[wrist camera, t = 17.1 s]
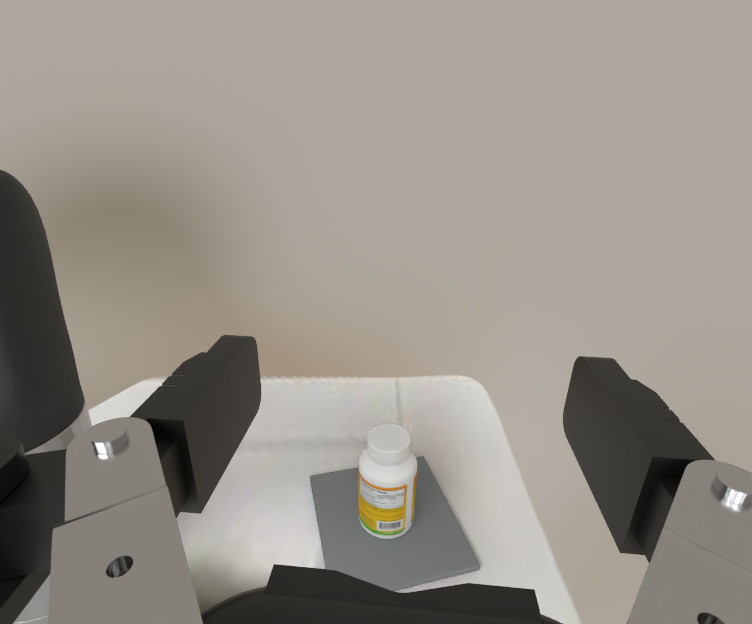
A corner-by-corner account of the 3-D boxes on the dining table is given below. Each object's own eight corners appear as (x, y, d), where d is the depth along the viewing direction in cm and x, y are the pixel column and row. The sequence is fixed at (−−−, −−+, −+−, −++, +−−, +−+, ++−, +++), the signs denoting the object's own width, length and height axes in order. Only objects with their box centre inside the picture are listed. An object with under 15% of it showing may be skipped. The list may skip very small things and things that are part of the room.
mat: (332, 606, 36) (332, 601, 35) (310, 480, 48) (310, 476, 48) (479, 569, 39) (479, 564, 39) (423, 460, 51) (423, 456, 51)
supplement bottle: (384, 487, 47) (386, 410, 43) (425, 516, 43) (431, 436, 39) (346, 517, 43) (345, 436, 39) (388, 552, 40) (391, 467, 36)
